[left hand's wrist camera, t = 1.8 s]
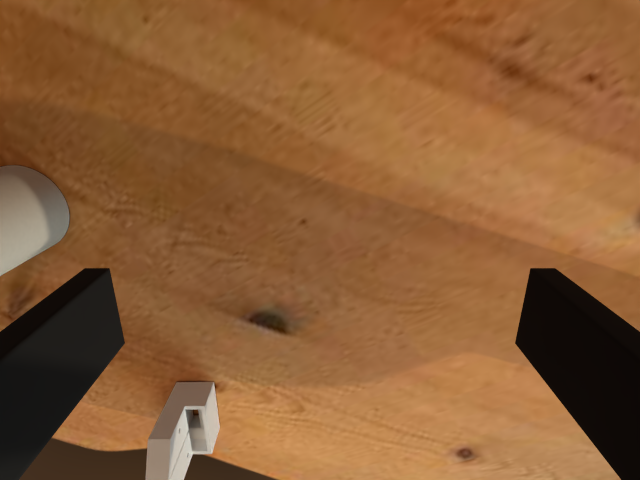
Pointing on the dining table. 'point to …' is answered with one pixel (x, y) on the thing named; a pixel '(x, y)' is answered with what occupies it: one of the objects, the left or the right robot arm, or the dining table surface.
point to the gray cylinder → (28, 215)
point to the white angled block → (182, 430)
